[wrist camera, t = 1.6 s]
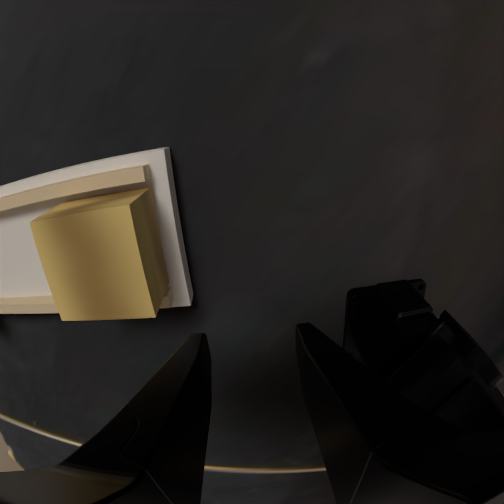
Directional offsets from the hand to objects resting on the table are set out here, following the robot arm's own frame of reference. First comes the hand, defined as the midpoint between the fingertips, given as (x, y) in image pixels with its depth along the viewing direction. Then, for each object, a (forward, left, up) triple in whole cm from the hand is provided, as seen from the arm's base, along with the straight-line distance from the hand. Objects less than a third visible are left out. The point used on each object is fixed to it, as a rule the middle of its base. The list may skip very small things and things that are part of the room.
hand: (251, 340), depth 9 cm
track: (0, +15, -12) cm, 19 cm away
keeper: (0, +8, -10) cm, 13 cm away
